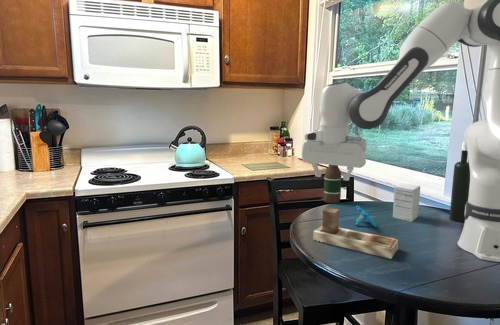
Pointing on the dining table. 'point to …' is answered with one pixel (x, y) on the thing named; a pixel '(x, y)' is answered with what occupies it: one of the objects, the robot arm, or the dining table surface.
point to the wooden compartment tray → (359, 241)
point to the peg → (330, 221)
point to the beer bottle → (332, 184)
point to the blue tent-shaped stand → (364, 217)
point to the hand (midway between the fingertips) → (331, 178)
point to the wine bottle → (460, 187)
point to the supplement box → (406, 202)
